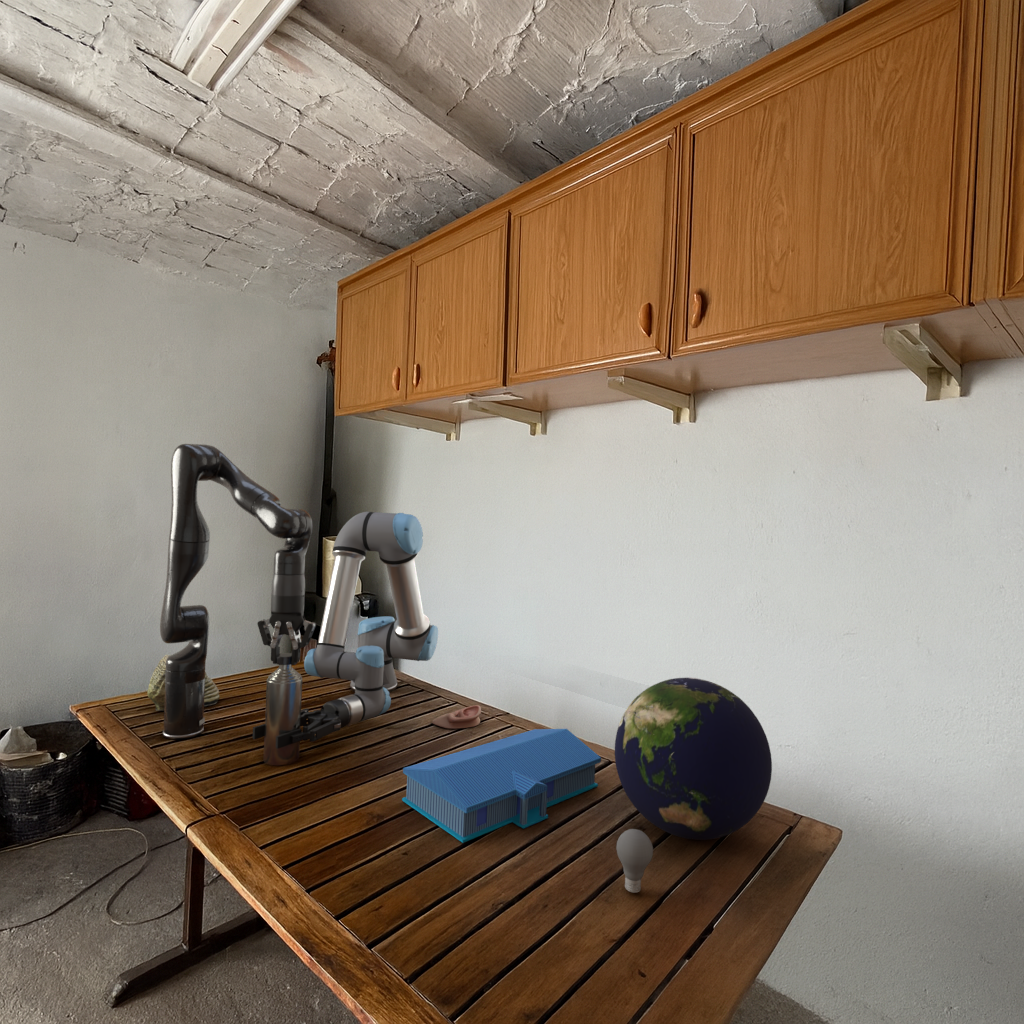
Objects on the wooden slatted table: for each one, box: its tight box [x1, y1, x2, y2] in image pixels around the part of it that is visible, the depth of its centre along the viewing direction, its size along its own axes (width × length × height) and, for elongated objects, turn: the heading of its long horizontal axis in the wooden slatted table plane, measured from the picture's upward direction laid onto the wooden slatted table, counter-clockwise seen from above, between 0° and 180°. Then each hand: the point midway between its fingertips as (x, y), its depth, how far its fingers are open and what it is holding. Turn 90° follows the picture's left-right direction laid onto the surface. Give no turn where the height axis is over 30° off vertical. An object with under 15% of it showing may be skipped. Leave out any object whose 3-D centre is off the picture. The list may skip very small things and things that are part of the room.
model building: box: [401, 728, 602, 844], centre depth 138 cm, size 39×24×10 cm, turn 132°
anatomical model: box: [431, 704, 482, 729], centre depth 181 cm, size 13×4×12 cm
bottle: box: [263, 664, 303, 766], centre depth 152 cm, size 8×8×24 cm
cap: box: [276, 652, 292, 666], centre depth 152 cm, size 4×4×2 cm
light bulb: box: [615, 828, 654, 894], centre depth 106 cm, size 6×6×10 cm
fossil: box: [147, 654, 221, 712], centre depth 185 cm, size 9×18×15 cm, turn 132°
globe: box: [614, 676, 773, 841], centre depth 126 cm, size 30×30×30 cm
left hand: (285, 663), depth 152 cm, fingers closed on cap, 4 cm apart
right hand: (265, 737), depth 148 cm, fingers closed on bottle, 8 cm apart
